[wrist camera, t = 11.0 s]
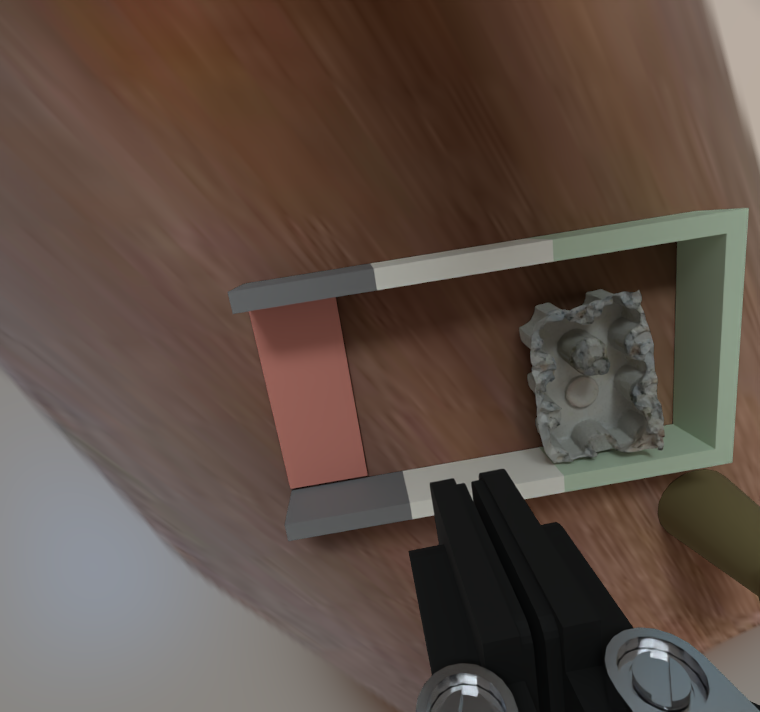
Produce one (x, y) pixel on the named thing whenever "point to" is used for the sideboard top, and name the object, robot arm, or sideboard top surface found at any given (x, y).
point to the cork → (715, 523)
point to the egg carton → (594, 377)
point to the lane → (526, 467)
